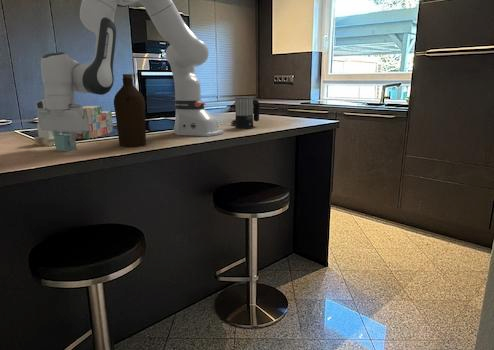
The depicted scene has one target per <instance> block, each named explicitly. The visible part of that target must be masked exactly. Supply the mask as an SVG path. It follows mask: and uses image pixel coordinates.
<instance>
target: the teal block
mask: <svg viewBox="0 0 494 350" xmlns="http://www.w3.org/2000/svg"><path fill="white" fill-rule="evenodd" d="M54 137H55V145H54V146H55V150H56V151H59V152H60V151H61V152H69V151H74V150H77V141H76V140H77V139H76V140H75V143H76V145H75V146H69V145H68V140H70V136H69V133H62V134H61V135H55V136H54Z"/></svg>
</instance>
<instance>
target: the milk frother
mask: <svg viewBox="0 0 494 350" xmlns="http://www.w3.org/2000/svg"><path fill="white" fill-rule="evenodd" d="M234 99H235V100H234V101H235V103H234V104H235V107H234V108H235V119H233V120H232V121H231V122H230V124H231V125H232V126H235V128H236V129H244V130H245V129H253V128H254V127H255V126H254V122H258V121H260V112H261V111H260V109H261V108H260V107H261V106H260V105H261V104H260V102H259V101H258V100H257V99H254V96H235V97H234Z"/></svg>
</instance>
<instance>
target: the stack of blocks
mask: <svg viewBox="0 0 494 350" xmlns="http://www.w3.org/2000/svg"><path fill="white" fill-rule="evenodd" d="M82 107H83V108H84V112H85V114H86V117H87V121H88V126H89V130H88V132H87V133H81V134H79V133H77V137H76V140H91V139H90V138H92V139H95V138H98V136H99V137H101V136H104V135H106V134H111V133H114V132H115V130H114V120H113V113H112V111H110V110H103V109H102V106H100V105H86V106H82ZM102 110H103V111H102ZM94 137H95V138H94Z"/></svg>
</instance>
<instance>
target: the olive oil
mask: <svg viewBox="0 0 494 350" xmlns="http://www.w3.org/2000/svg"><path fill="white" fill-rule="evenodd" d="M113 98H114V99H113V107H114V115H115V120H116V128H117V137H118V145H119V146H120V147H124V148H135V147H136V148H137V147H143V146H146V144H147V136H146V135H147V134H146V133H147V131H146V101H145V98H144V96H143V93H141V91H140V90H138V89H137V87H135V86H134V81H133V74H131V73H123V74H122V86H121V88H119V90H118V91H117V92H116V93H115V95H114V97H113Z"/></svg>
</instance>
